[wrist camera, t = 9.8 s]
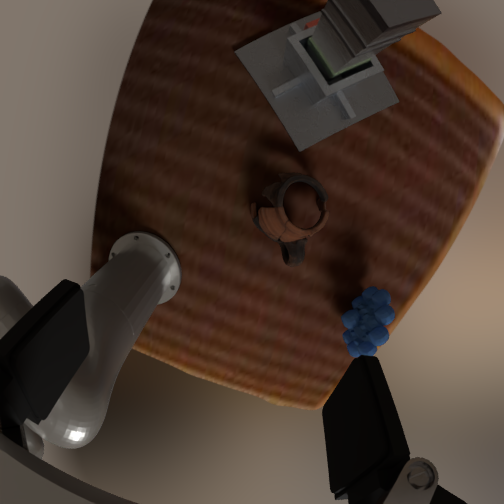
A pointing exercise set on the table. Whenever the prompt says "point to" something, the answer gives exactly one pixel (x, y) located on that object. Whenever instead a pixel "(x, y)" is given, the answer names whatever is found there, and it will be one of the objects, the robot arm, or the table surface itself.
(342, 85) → the stand base
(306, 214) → the table surface
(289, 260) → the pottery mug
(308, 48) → the column
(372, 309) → the blue lumpy cluster
